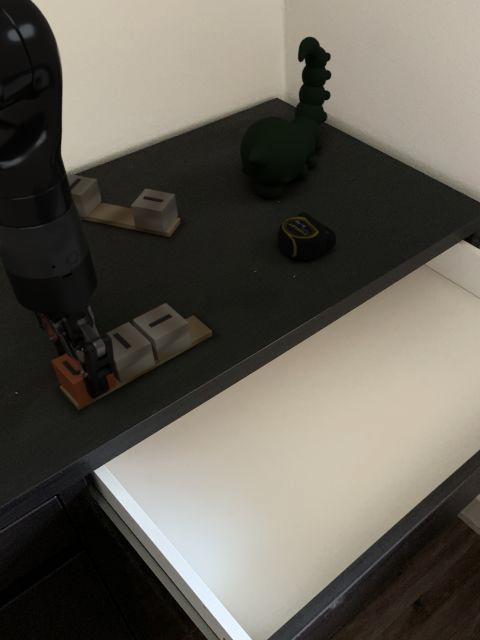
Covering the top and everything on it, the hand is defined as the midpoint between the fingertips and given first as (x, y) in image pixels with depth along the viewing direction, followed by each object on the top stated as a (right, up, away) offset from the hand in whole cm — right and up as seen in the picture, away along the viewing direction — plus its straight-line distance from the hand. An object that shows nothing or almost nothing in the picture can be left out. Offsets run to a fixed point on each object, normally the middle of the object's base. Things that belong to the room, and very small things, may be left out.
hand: (86, 378), depth 72 cm
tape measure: (+24, +19, +20) cm, 36 cm away
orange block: (0, -1, +1) cm, 1 cm away
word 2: (+5, +2, +4) cm, 7 cm away
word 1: (-3, +24, +23) cm, 33 cm away
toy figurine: (+21, +33, +32) cm, 50 cm away
